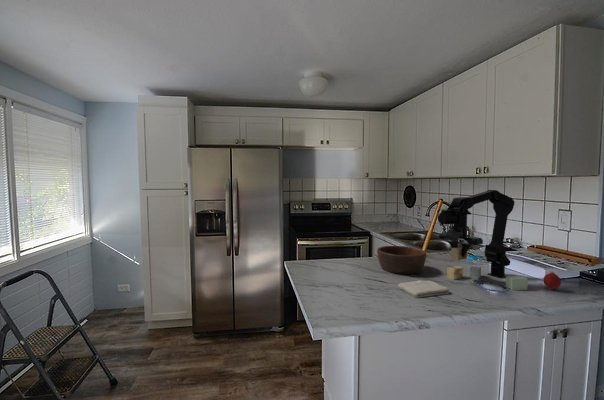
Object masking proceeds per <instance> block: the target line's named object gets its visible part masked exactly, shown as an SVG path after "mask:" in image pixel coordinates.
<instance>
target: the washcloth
mask: <svg viewBox="0 0 604 400" xmlns="http://www.w3.org/2000/svg"><path fill="white" fill-rule="evenodd" d="M397 288H398V289H399V290H400V291H402V292H405V293H406V294H407V295H410V296H411V297H414V298H416V299H418V298H425V297H432V296H439V295H447V294H449V295H450V292H449V291H450V289H449V287H446V286H444V285H440V284H438V283H436V281H435V282H434V281H432V280H420V279H419V280H416V281H407V282H401V283H399V284H397Z"/></svg>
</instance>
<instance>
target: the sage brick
mask: <svg viewBox="0 0 604 400" xmlns="http://www.w3.org/2000/svg"><path fill="white" fill-rule="evenodd" d="M528 280H529V278H528V277H525V276H522V275H508V276H506V277H505V287H506V286H507V287H508V288H507V289H509V288H510V289H509V290H511V291H523V290H525V291H527V290H528V285H529V284H528Z"/></svg>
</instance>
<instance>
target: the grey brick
mask: <svg viewBox="0 0 604 400" xmlns="http://www.w3.org/2000/svg"><path fill="white" fill-rule="evenodd" d="M481 276H482V266H480V265H474V264H473V265H472V266H470V267H469V279H473V280H479V278H480V277H481Z"/></svg>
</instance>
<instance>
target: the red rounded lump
mask: <svg viewBox="0 0 604 400" xmlns="http://www.w3.org/2000/svg"><path fill="white" fill-rule="evenodd" d="M543 284H544V285H545V286H546V287H547V288H548V289H549V290H551V291H552V290H555V289H558V288H560V287H561V285H562V280H561V278H560V277H559V276H558V275H557V274H556V273H555V272H554V271H550V272H549V273H547V274H546V275H544V277H543Z"/></svg>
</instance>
